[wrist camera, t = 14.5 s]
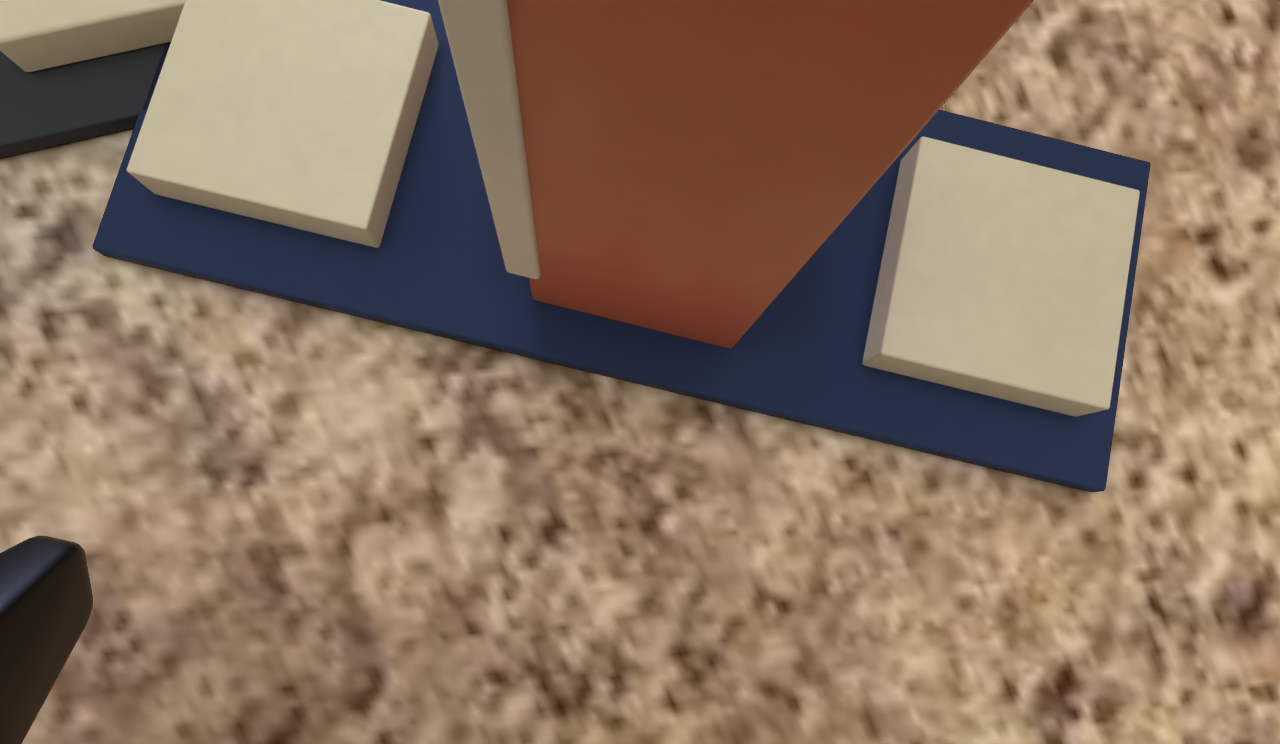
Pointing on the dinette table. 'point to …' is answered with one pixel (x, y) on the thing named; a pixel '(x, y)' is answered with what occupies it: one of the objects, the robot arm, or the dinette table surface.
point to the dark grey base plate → (77, 67)
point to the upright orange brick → (695, 138)
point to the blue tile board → (513, 322)
